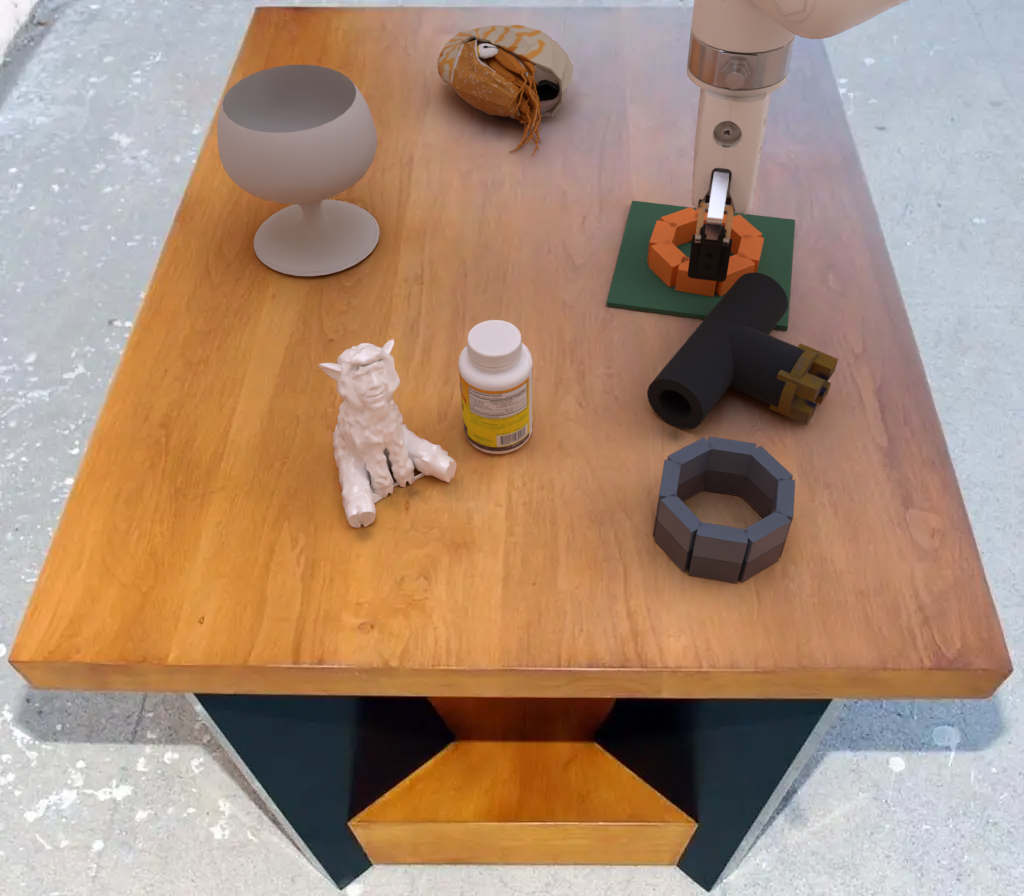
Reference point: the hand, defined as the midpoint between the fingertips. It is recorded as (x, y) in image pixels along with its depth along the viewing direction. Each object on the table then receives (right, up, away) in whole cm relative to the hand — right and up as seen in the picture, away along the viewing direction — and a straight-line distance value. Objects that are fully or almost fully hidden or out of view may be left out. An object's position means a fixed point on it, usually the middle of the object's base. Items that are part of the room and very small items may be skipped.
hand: (711, 243), depth 88 cm
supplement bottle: (-19, -17, -7) cm, 26 cm away
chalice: (-36, +2, +10) cm, 38 cm away
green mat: (+1, 0, +7) cm, 7 cm away
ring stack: (-2, -24, -14) cm, 27 cm away
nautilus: (-18, +19, +25) cm, 36 cm away
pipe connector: (+2, -13, -4) cm, 14 cm away
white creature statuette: (-28, -20, -9) cm, 35 cm away
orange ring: (0, 0, +6) cm, 6 cm away
